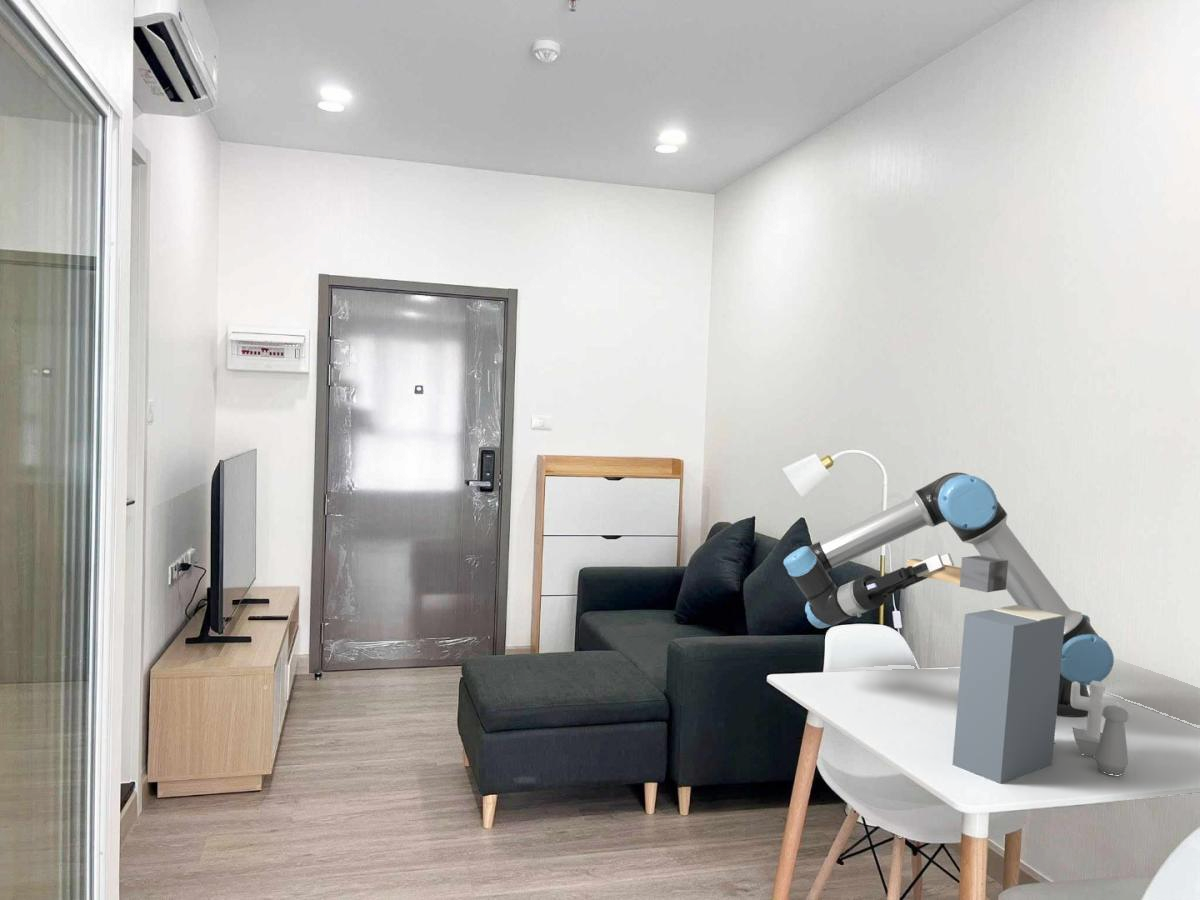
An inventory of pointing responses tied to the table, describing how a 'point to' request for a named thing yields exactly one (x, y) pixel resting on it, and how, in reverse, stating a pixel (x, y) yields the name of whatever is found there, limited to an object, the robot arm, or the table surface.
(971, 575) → the hammer
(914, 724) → the table surface
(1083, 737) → the figurine
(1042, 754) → the tall grey pillar
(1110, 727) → the salt shaker
